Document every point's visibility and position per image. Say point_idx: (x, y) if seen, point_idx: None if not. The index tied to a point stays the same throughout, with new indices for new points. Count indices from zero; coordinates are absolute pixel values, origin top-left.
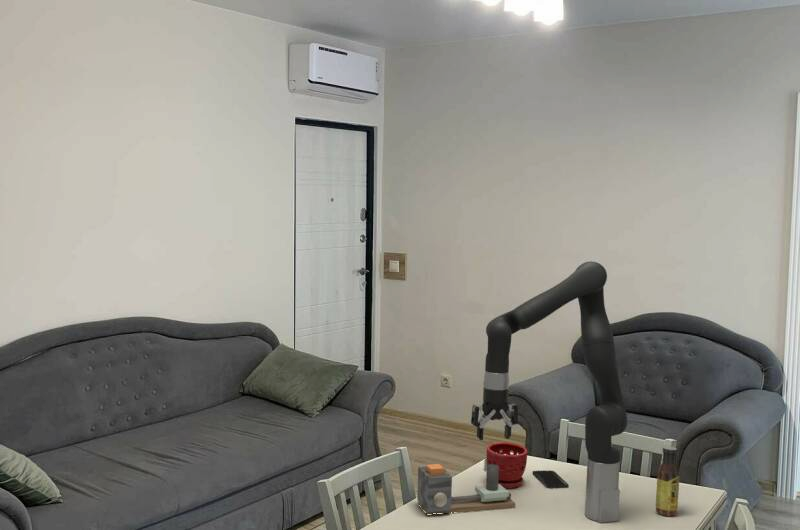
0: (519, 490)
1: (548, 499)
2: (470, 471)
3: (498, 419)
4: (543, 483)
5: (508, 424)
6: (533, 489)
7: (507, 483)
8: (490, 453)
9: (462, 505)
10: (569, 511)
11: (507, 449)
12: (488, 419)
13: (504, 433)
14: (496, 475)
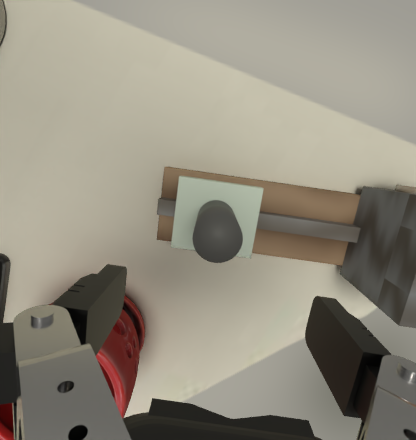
0: (90, 269)
1: (46, 186)
2: None
3: (190, 407)
4: (4, 281)
5: (66, 325)
6: (49, 263)
7: None
8: (127, 389)
9: (314, 203)
10: (32, 86)
11: None
12: (393, 420)
13: (113, 326)
14: (212, 209)
